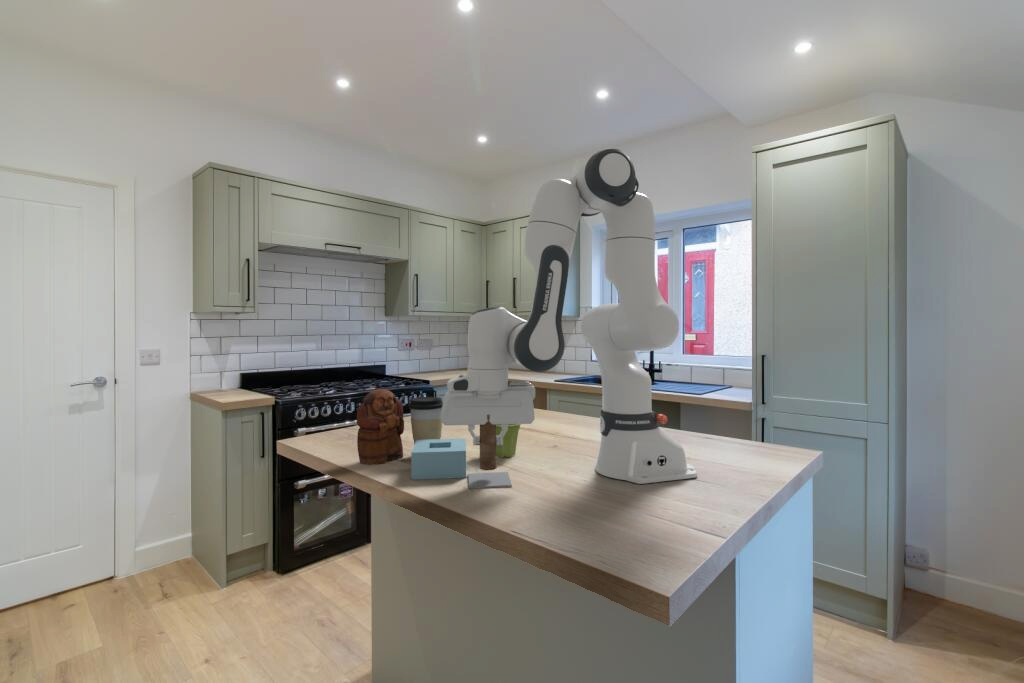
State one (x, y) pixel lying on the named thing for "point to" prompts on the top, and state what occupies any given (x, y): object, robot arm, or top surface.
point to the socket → (439, 459)
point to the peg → (488, 446)
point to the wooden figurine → (380, 427)
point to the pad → (489, 480)
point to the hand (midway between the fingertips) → (487, 444)
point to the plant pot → (507, 440)
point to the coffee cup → (426, 418)
